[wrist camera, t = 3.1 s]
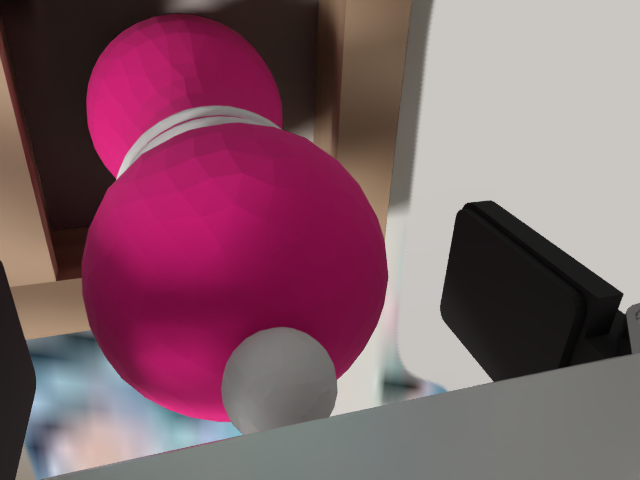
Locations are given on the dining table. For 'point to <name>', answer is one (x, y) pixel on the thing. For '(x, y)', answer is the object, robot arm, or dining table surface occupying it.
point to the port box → (329, 134)
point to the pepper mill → (222, 234)
